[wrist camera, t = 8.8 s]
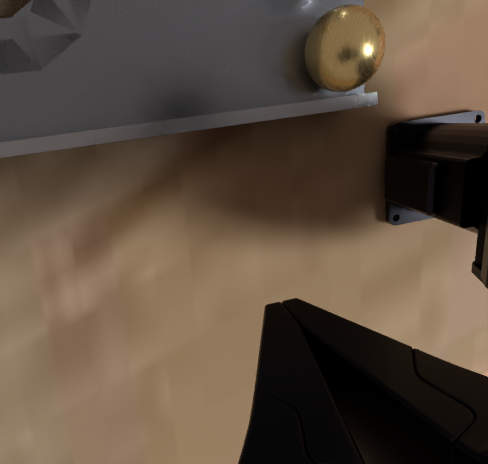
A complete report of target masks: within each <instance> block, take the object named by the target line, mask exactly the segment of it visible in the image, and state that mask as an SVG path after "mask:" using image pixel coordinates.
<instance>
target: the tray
mask: <svg viewBox="0 0 488 464" xmlns="http://www.w3.org/2000/svg"><path fill="white" fill-rule="evenodd" d="M346 4H354V5H359V6H363V7H364V0H31V1H30V2H28V3H27V4H26V5H25V6H24V7H23V8H22V9H20V10H19V11H18V12H17V13H16V14H15V15H13V16H12V17H11V18H0V158H3V157H11V156H18V155H25V154H32V153H39V152H46V151H54V150H61V149H68V148H75V147H82V146H89V145H96V144H104V143H111V142H118V141H125V140H132V139H139V138H146V137H154V136H161V135H168V134H175V133H182V132H189V131H197V130H204V129H211V128H218V127H225V126H232V125H239V124H247V123H254V122H261V121H268V120H275V119H282V118H289V117H297V116H304V115H311V114H318V113H325V112H332V111H340V110H347V109H354V108H361V107H368V106H375V105H378V92H374V93H366V94H365V84H363V85H362V86H360V87H358V88H356V89H354V90H351V91H347V92H332V91H329V90H326V89H324V88H322V87H321V86H319V85H318V84H317V83H316V82H315V81H314V80H313V79H312V78H311V76H310V74H309V73H308V70H307V68H306V64H305V55H304V54H305V44H306V40H307V37H308V34H309V32H310V30H311V28H312V27H313V25H314V24H315V23H316V21H317V20H318V19H319V18H320V17H321V16H322V15H323V14H325V13H326V12H327V11H329V10H331V9H333V8H335V7H337V6H341V5H346Z"/></svg>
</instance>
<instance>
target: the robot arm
mask: <svg viewBox="0 0 488 464" xmlns="http://www.w3.org/2000/svg"><path fill="white" fill-rule="evenodd" d="M475 117H476V121H475V120H474V119H475ZM396 127H397V129H398V132H397V134H396V135H395V133H394V130H395V128H396ZM385 199H386V221H387V222H388V223H390V224H392V225H400V224H405V223H410V222H415V221H420V220H425V219H430V218H436V219H439V220H442V221H444V222H447V223H450V224H453V225H455V226H458V227H461V228H463V229H466V230H469V231H471V232H474V233H477V234H478V238H477V247H476V256H475V261H474V262H473V263H472V273H473V274H474V275H475V276H476V277H477V278H478V279H479V280H480V281H481V282H482V283H483V284H484V285H485V287H486V288H487V289H488V123H485V114H484V112H483V111H468V112H461V113H455V114H448V115H441V116H434V117H428V118H421V119H414V120H408V121H401V122H394V123H392V124H390V125H389V126H388V128H387V141H386V160H385ZM394 215H396V218H395V219H394V220H393V216H394ZM238 464H488V377H487V376H484V375H481V374H479V373H476V372H473V371H470V370H468V369H465V368H462V367H459V366H457V365H454V364H452V363H449V362H447V361H444V360H442V359H439V358H437V357H434V356H432V355H430V354H427V353H425V352H423V351H420V350H418V349H412V347H411V346H408V345H406V344H403V343H401V342H399V341H396V340H394V339H392V338H389V337H387V336H385V335H382V334H380V333H378V332H375V331H373V330H371V329H368V328H366V327H364V326H361V325H359V324H356V323H354V322H352V321H349V320H347V319H345V318H342V317H340V316H338V315H335V314H333V313H331V312H328V311H326V310H324V309H321V308H319V307H317V306H314V305H312V304H309V303H307V302H305V301H302V300H300V299H297V298H294V299H290V300H285V301H283V302H282V303H281V302H276V303H272V304H267V305H266V306H265V311H264V318H263V326H262V334H261V342H260V350H259V358H258V366H257V374H256V382H255V391H254V396H253V403H252V409H251V415H250V421H249V426H248V430H247V434H246V437H245V441H244V445H243V449H242V452H241V456H240V459H239V462H238Z"/></svg>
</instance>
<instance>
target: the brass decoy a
mask: <svg viewBox="0 0 488 464" xmlns="http://www.w3.org/2000/svg"><path fill="white" fill-rule="evenodd" d="M384 52H385V33H384V30H383V27H382V24H381V22H380V21H379V19H378V18H377V17H376V15H375V14H374V13H373V12H371V11H370V10H369V9H367V8H365V7H363V6H359V5H354V4H346V5H341V6H337V7H335V8H333V9H331V10H329V11H327V12H326V13H325V14H323V15H322V16H321V17H320V18H319V19H318V20H317V21H316V23H315V24H314V25H313V27H312V28H311V30H310V32H309V34H308V37H307V40H306V44H305V54H304V55H305V64H306V68H307V70H308V73H309V74H310V76H311V78H312V79H313V80H314V81H315V82H316V83H317V84H318V85H319V86H321V87H322V88H324V89H326V90H329V91H332V92H347V91H351V90H354V89H356V88H358V87H360V86H362V85H363V84H365V83H366V82H367V81H368V80H369V79H370V78H371V77H372V76H373V75H374V74H375V73H376V71H377V69H378V68H379V66H380V64H381V62H382V59H383V56H384Z"/></svg>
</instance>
